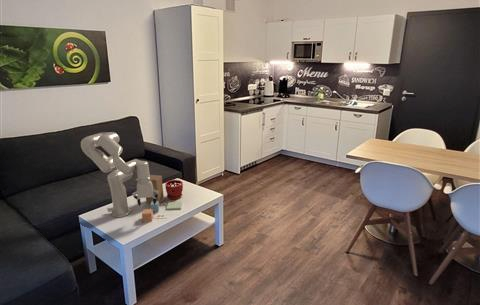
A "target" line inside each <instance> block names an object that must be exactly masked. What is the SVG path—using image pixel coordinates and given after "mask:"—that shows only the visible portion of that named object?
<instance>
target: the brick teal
mask: <svg viewBox="0 0 480 305" xmlns="http://www.w3.org/2000/svg"><path fill="white" fill-rule="evenodd" d="M149 206H150V209H153V213H159V212H160V204H159V201H156V203H155V205H154V203H153V202H151V204H149Z"/></svg>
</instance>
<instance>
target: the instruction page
mask: <svg viewBox="0 0 480 305" xmlns="http://www.w3.org/2000/svg"><path fill="white" fill-rule="evenodd" d="M167 216H168V213H156V214H155V215H154V216H153V219H154V220H157V219H167Z"/></svg>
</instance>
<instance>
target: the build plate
mask: <svg viewBox="0 0 480 305" xmlns="http://www.w3.org/2000/svg"><path fill="white" fill-rule="evenodd" d="M182 204H183V202H182V201H168V202H167V205H166V210H167V211H171V210H172V211H173V210H174V211H175V210H182Z"/></svg>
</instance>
